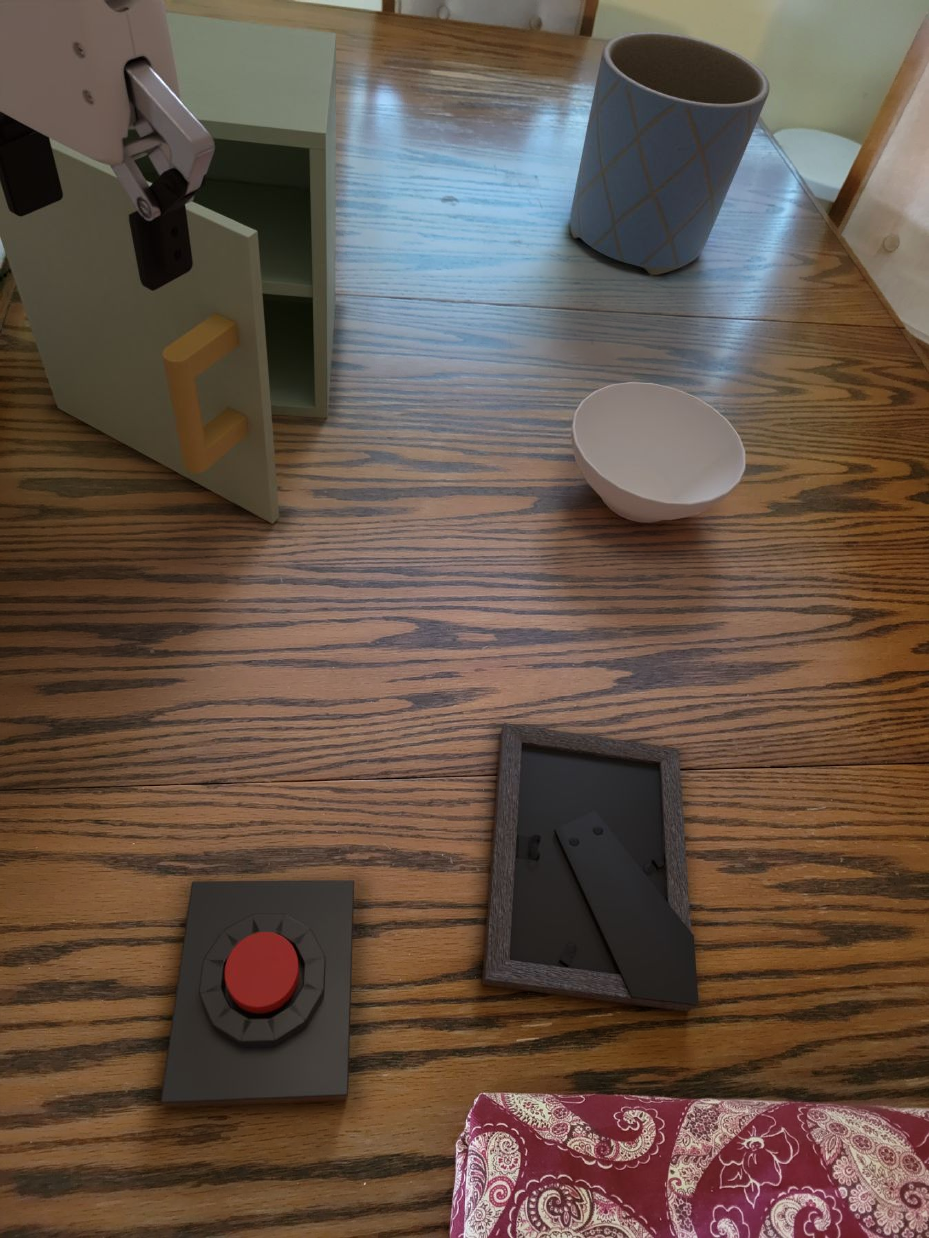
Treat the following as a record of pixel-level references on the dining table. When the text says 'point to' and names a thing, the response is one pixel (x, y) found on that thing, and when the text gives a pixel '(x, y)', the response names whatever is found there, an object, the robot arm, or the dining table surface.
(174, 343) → the cabinet door
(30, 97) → the robot arm
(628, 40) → the planter
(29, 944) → the dining table surface
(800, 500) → the dining table surface
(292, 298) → the cabinet
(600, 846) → the picture frame
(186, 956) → the switch block
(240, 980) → the button
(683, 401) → the bowl
